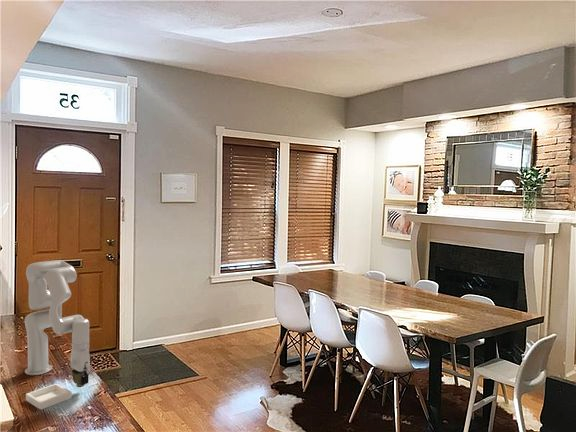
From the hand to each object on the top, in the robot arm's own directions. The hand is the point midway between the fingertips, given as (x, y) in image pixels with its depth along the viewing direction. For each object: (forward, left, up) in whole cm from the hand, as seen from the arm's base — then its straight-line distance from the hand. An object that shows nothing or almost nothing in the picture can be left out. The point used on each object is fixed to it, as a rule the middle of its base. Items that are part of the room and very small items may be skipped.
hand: (80, 381), depth 219 cm
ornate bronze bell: (0, 0, -3) cm, 3 cm away
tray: (-4, -13, -5) cm, 15 cm away
